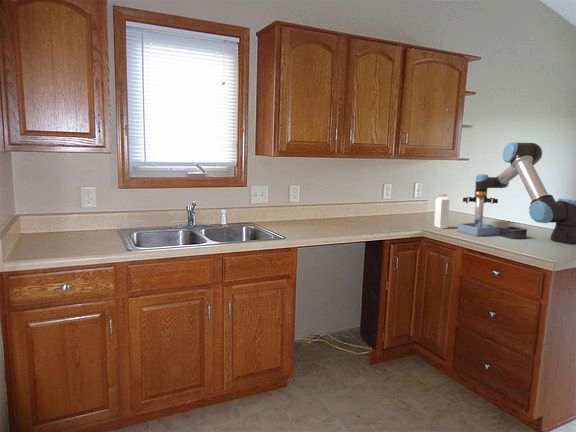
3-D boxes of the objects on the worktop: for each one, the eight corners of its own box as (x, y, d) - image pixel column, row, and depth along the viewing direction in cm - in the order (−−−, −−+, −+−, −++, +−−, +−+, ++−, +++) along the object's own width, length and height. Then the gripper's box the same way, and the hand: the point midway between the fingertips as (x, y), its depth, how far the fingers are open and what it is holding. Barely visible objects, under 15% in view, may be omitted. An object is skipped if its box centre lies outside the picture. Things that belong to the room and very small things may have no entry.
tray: (498, 234, 250) (499, 226, 249) (477, 236, 244) (477, 228, 244) (477, 230, 265) (478, 222, 264) (457, 231, 259) (458, 223, 258)
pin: (485, 232, 252) (488, 192, 249) (477, 232, 250) (480, 192, 247) (477, 230, 258) (480, 191, 255) (469, 231, 256) (472, 191, 253)
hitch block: (526, 237, 241) (526, 229, 240) (512, 239, 238) (513, 230, 237) (511, 234, 251) (512, 226, 250) (498, 235, 247) (499, 227, 246)
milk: (447, 228, 270) (450, 194, 267) (439, 229, 268) (442, 194, 265) (441, 226, 276) (443, 193, 272) (433, 227, 274) (435, 193, 270)
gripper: (500, 205, 276) (501, 208, 257) (459, 203, 286) (458, 206, 267) (501, 193, 275) (502, 196, 256) (460, 192, 285) (458, 194, 266)
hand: (479, 201), depth 261 cm, fingers open, 13 cm apart
